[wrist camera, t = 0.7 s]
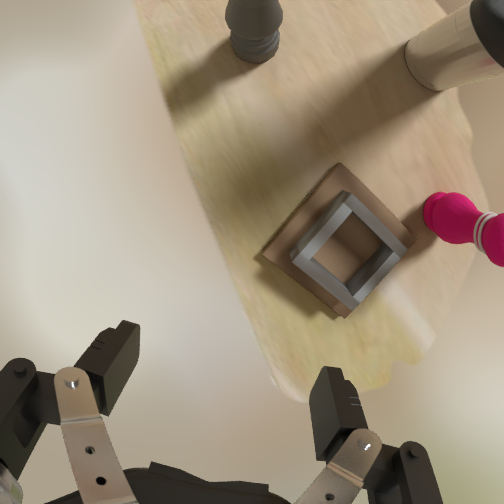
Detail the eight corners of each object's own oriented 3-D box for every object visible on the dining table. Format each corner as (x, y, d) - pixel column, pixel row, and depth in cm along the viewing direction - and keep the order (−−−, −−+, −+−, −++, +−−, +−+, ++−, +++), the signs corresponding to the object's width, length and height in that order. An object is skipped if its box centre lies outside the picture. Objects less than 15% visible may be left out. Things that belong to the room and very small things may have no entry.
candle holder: (282, 30, 33) (306, -89, 9) (272, 67, 35) (288, -39, 11) (238, 21, 33) (216, -99, 9) (227, 58, 35) (186, -49, 11)
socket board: (338, 162, 39) (349, 163, 33) (412, 236, 41) (429, 247, 36) (262, 251, 43) (262, 264, 37) (342, 314, 45) (351, 332, 40)
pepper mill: (412, 218, 41) (498, 264, 22) (434, 179, 39) (529, 202, 20) (441, 243, 42) (523, 295, 22) (462, 205, 40) (552, 240, 20)
